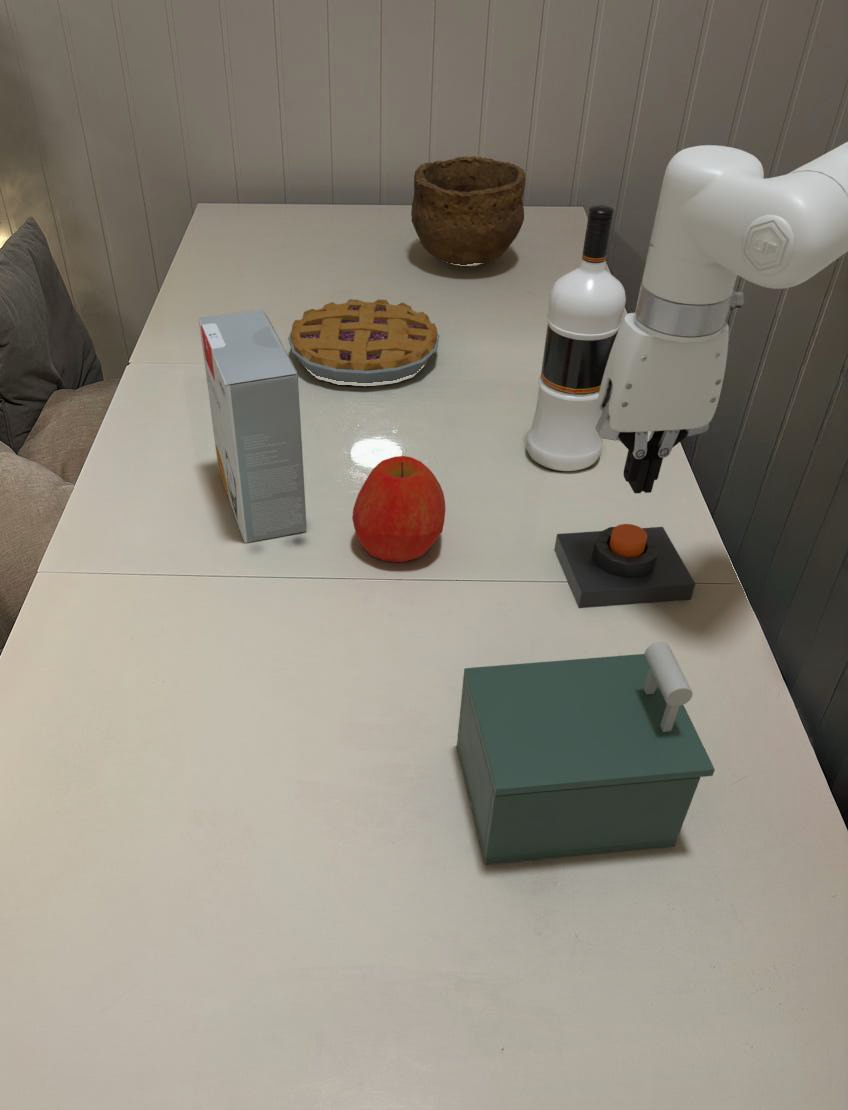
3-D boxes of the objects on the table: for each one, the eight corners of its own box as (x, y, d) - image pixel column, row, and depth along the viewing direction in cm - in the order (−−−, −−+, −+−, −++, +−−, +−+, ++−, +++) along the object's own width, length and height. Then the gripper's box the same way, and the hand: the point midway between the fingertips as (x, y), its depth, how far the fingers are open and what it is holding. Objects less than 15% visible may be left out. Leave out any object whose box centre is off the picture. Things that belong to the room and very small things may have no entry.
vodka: (515, 464, 118) (546, 213, 97) (538, 428, 124) (571, 186, 103) (588, 481, 115) (635, 227, 94) (607, 444, 121) (656, 198, 100)
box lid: (656, 659, 80) (671, 607, 76) (712, 776, 71) (733, 724, 67) (463, 674, 78) (468, 622, 74) (495, 796, 69) (502, 744, 65)
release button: (637, 535, 101) (641, 522, 100) (648, 556, 98) (652, 543, 97) (604, 538, 101) (607, 524, 99) (615, 559, 98) (618, 545, 97)
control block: (658, 542, 106) (666, 512, 103) (690, 600, 99) (699, 570, 96) (554, 549, 105) (558, 520, 102) (578, 608, 98) (584, 578, 95)
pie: (290, 325, 146) (288, 293, 143) (431, 322, 147) (433, 291, 144) (287, 395, 130) (285, 361, 127) (445, 392, 131) (447, 358, 128)
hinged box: (626, 729, 86) (646, 660, 80) (674, 846, 77) (700, 777, 71) (456, 744, 85) (463, 675, 78) (485, 864, 75) (495, 796, 69)
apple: (455, 565, 103) (462, 484, 96) (363, 578, 101) (362, 497, 94) (431, 511, 110) (435, 432, 103) (344, 523, 109) (342, 443, 102)
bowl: (393, 274, 161) (394, 180, 151) (432, 236, 173) (435, 147, 163) (499, 292, 155) (508, 196, 145) (531, 251, 168) (541, 161, 158)
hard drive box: (216, 471, 117) (197, 315, 103) (277, 461, 118) (266, 306, 105) (243, 545, 106) (224, 381, 92) (309, 533, 107) (301, 370, 94)
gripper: (747, 286, 85) (696, 460, 98) (585, 292, 84) (555, 468, 97) (782, 323, 80) (724, 503, 92) (610, 331, 78) (575, 512, 91)
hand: (638, 485), depth 94 cm, fingers closed
